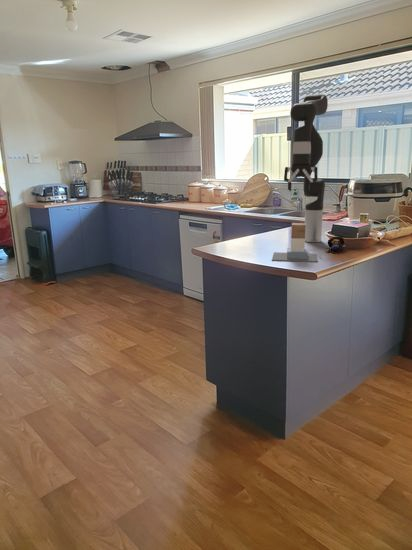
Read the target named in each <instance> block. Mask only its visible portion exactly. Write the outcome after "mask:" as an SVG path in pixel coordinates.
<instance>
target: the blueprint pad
mask: <svg viewBox="0 0 412 550" xmlns="http://www.w3.org/2000/svg"><path fill="white" fill-rule="evenodd" d="M271 261H272V262H290V263H291V262H297V263H319V259H318V253H309V252H308V248H305V250H304V252H294V251H291V247H288V248H287V251H286V252H277V251H274V252H273V255H272V259H271Z"/></svg>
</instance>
